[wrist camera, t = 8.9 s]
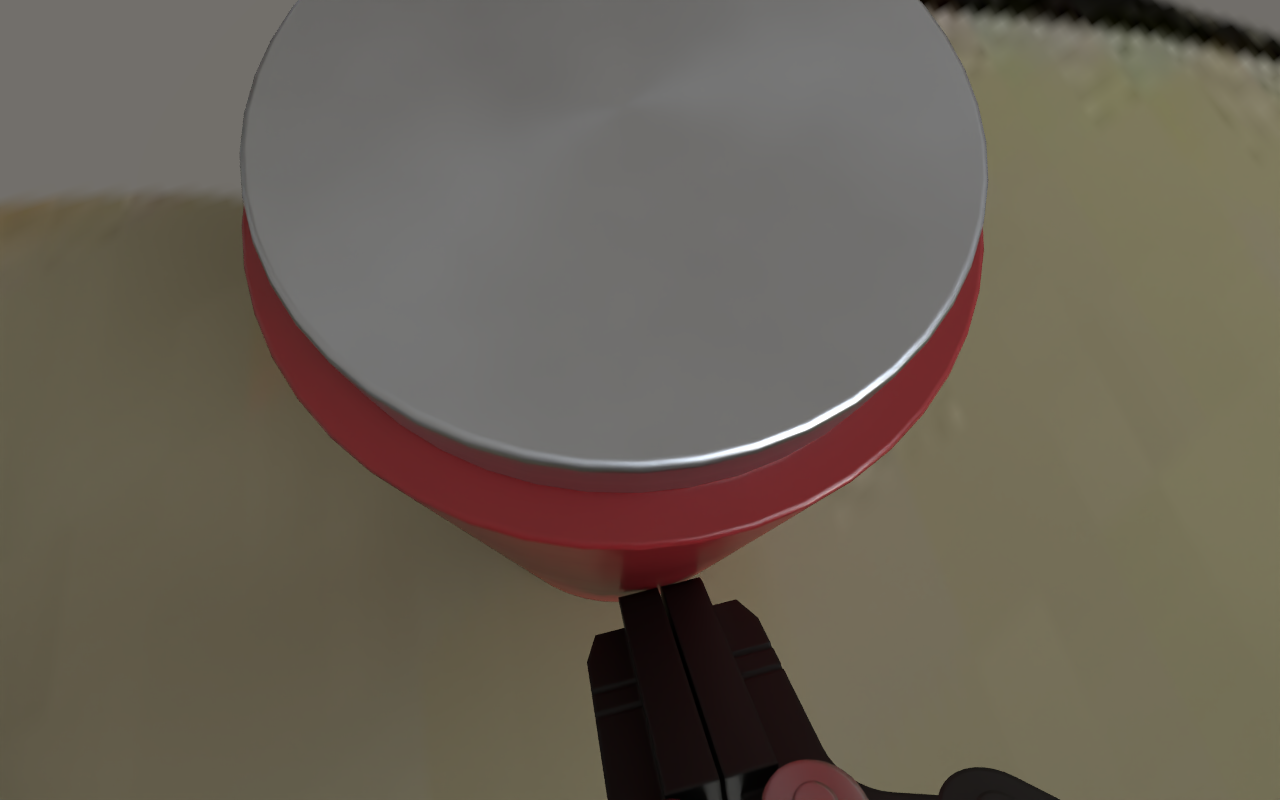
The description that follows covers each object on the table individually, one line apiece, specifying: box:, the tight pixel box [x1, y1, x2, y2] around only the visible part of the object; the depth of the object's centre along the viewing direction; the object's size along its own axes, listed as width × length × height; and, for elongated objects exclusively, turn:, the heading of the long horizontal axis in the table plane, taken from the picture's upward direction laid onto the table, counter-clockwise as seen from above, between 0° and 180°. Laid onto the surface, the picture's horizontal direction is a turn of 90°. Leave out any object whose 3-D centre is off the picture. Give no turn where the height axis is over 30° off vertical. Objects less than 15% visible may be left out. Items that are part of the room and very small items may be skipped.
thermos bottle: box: [240, 0, 988, 602], centre depth 11 cm, size 7×7×12 cm
